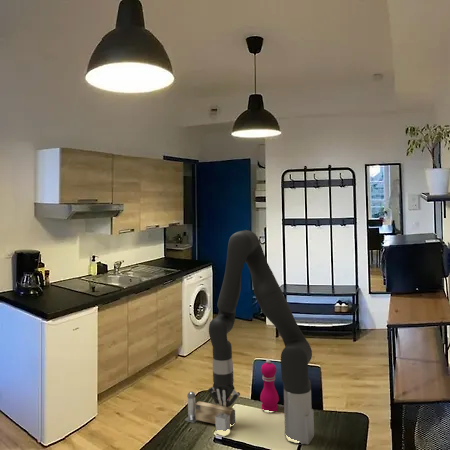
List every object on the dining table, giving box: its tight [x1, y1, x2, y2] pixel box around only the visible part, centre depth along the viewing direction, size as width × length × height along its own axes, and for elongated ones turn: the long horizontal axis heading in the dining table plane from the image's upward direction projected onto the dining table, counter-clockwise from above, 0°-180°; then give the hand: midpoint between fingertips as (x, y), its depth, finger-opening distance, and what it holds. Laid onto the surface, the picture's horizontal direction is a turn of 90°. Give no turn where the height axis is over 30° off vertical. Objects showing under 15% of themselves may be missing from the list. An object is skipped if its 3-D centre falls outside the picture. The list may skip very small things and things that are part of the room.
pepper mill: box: [259, 358, 280, 412], centre depth 170 cm, size 7×7×20 cm
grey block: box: [215, 413, 231, 432], centre depth 154 cm, size 4×4×6 cm
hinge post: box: [184, 391, 198, 424], centre depth 164 cm, size 4×4×11 cm
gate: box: [195, 401, 236, 425], centre depth 160 cm, size 15×3×6 cm, turn 63°
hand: (224, 415), depth 161 cm, fingers closed
